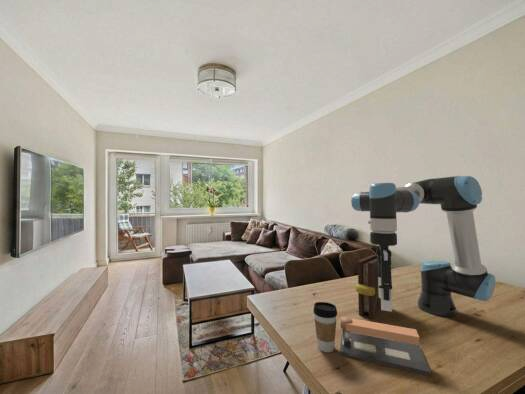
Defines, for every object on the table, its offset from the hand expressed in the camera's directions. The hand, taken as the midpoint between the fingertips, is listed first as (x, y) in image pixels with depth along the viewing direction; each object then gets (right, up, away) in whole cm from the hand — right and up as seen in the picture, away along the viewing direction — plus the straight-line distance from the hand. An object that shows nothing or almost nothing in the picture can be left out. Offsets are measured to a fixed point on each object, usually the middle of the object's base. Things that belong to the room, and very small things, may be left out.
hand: (384, 303), depth 73 cm
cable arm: (+1, -14, +8) cm, 16 cm away
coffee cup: (-15, -21, +11) cm, 29 cm away
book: (+15, -22, +39) cm, 47 cm away
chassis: (+3, -21, +8) cm, 23 cm away
